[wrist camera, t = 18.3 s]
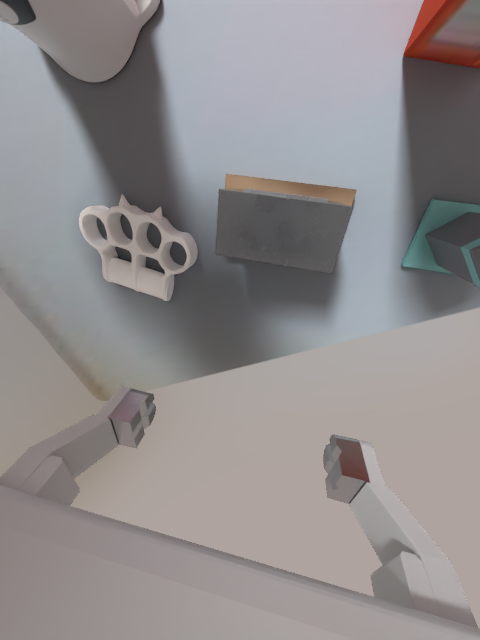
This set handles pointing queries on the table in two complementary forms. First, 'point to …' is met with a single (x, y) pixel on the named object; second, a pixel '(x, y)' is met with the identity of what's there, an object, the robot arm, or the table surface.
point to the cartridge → (458, 246)
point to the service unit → (281, 228)
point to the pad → (432, 219)
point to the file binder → (447, 32)
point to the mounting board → (291, 188)
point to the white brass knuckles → (136, 247)
